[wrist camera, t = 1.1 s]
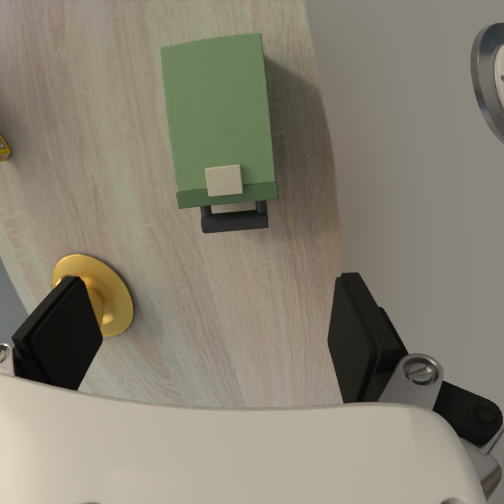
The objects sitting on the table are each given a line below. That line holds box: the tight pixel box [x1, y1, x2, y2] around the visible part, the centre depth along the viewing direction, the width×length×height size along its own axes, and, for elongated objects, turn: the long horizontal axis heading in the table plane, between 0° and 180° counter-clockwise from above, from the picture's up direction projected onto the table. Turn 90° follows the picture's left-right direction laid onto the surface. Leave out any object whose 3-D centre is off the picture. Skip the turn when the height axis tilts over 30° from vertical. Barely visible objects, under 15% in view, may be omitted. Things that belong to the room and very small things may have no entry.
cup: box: [52, 255, 133, 336], centre depth 32 cm, size 12×12×5 cm
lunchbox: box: [160, 33, 278, 233], centre depth 23 cm, size 7×8×15 cm
